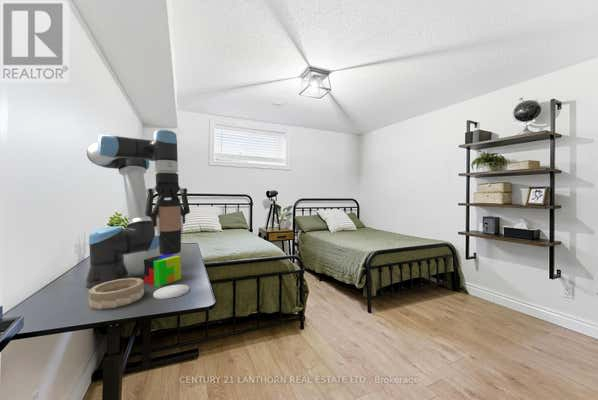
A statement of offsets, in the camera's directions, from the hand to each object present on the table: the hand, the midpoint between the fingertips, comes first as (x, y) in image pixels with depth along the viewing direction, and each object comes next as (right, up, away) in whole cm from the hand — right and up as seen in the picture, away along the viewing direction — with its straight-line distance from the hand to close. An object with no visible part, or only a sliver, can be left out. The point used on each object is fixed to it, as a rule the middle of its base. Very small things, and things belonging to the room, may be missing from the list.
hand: (169, 233), depth 94 cm
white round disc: (+1, -22, +1) cm, 22 cm away
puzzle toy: (-10, -22, +14) cm, 28 cm away
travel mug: (0, -7, 0) cm, 7 cm away
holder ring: (-16, -23, -4) cm, 28 cm away
